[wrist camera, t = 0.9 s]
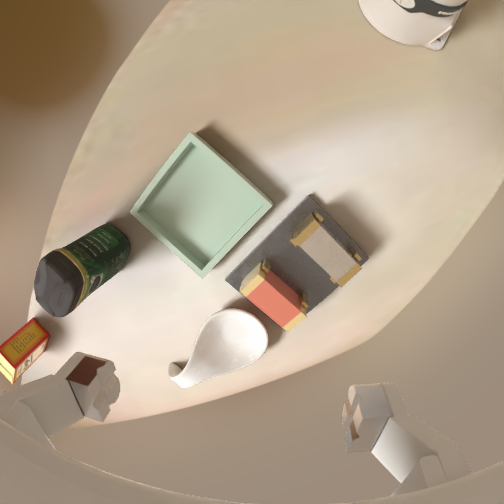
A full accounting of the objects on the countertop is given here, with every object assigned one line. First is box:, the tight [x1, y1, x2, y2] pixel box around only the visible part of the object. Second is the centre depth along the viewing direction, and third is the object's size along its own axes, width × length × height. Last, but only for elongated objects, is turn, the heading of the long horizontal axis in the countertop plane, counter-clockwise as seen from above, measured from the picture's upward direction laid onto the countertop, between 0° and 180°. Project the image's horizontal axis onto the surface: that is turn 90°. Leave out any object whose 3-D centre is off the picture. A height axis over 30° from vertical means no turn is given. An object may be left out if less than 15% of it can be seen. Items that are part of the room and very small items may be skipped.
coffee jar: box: [34, 224, 130, 317], centre depth 42 cm, size 10×8×19 cm
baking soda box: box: [0, 318, 50, 384], centre depth 55 cm, size 10×6×16 cm
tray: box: [130, 132, 273, 279], centre depth 45 cm, size 16×16×3 cm
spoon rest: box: [168, 308, 268, 388], centre depth 52 cm, size 24×12×7 cm, turn 134°
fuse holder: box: [225, 195, 369, 331], centre depth 45 cm, size 19×14×6 cm
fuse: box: [240, 262, 307, 332], centre depth 46 cm, size 4×10×5 cm, turn 48°
